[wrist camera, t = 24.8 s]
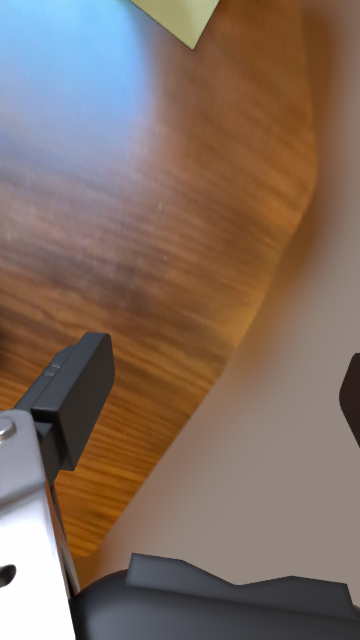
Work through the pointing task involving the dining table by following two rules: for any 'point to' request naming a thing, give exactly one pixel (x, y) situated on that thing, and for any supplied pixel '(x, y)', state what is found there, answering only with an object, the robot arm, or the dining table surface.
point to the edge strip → (180, 16)
